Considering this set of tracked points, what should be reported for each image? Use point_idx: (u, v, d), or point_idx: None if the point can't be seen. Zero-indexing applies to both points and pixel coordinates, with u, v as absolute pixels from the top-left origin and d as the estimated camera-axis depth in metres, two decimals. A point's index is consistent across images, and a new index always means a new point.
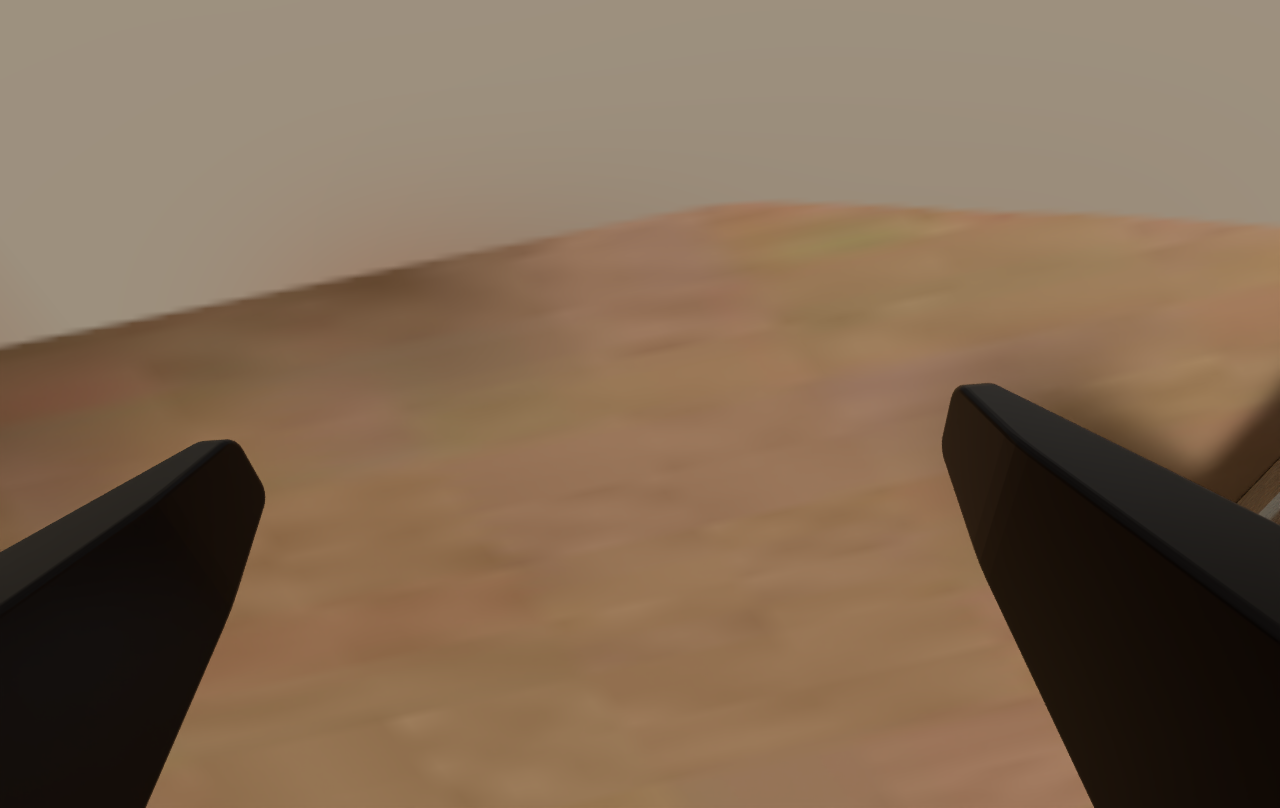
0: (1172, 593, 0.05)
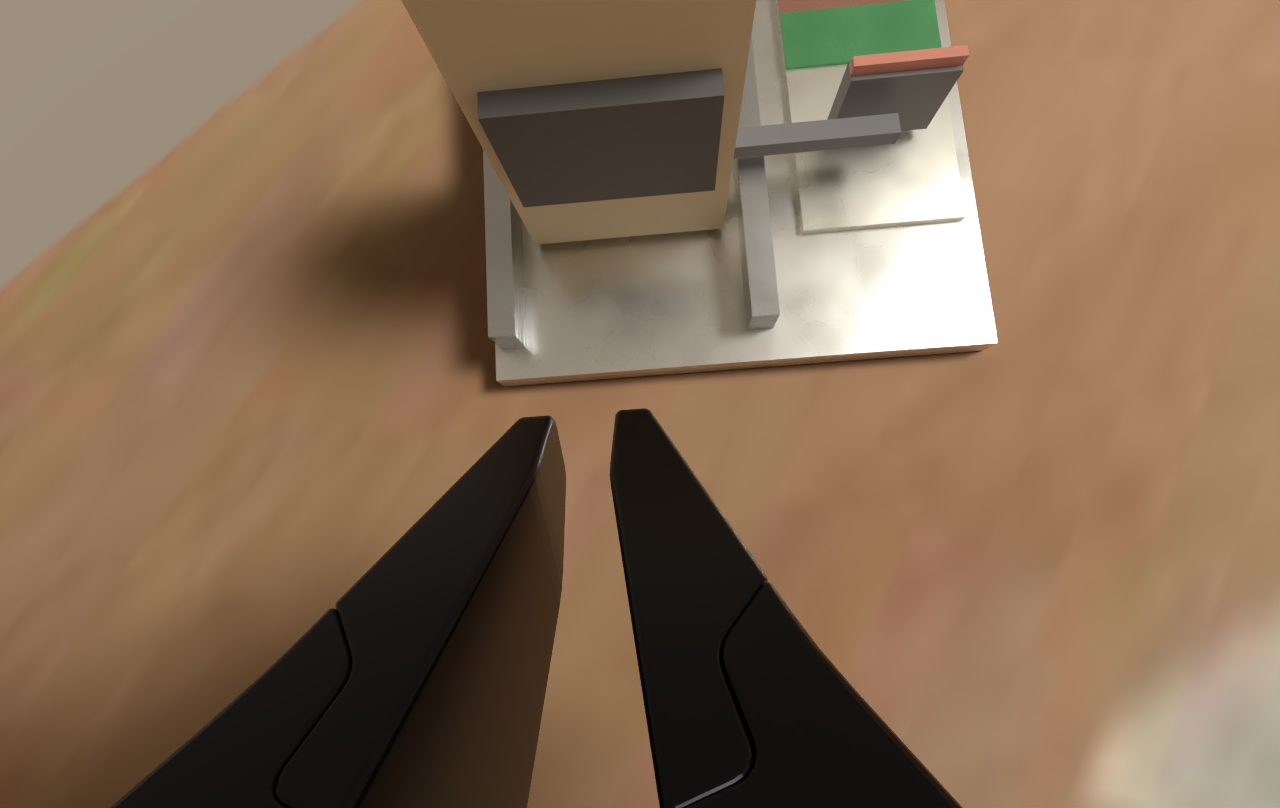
0: None
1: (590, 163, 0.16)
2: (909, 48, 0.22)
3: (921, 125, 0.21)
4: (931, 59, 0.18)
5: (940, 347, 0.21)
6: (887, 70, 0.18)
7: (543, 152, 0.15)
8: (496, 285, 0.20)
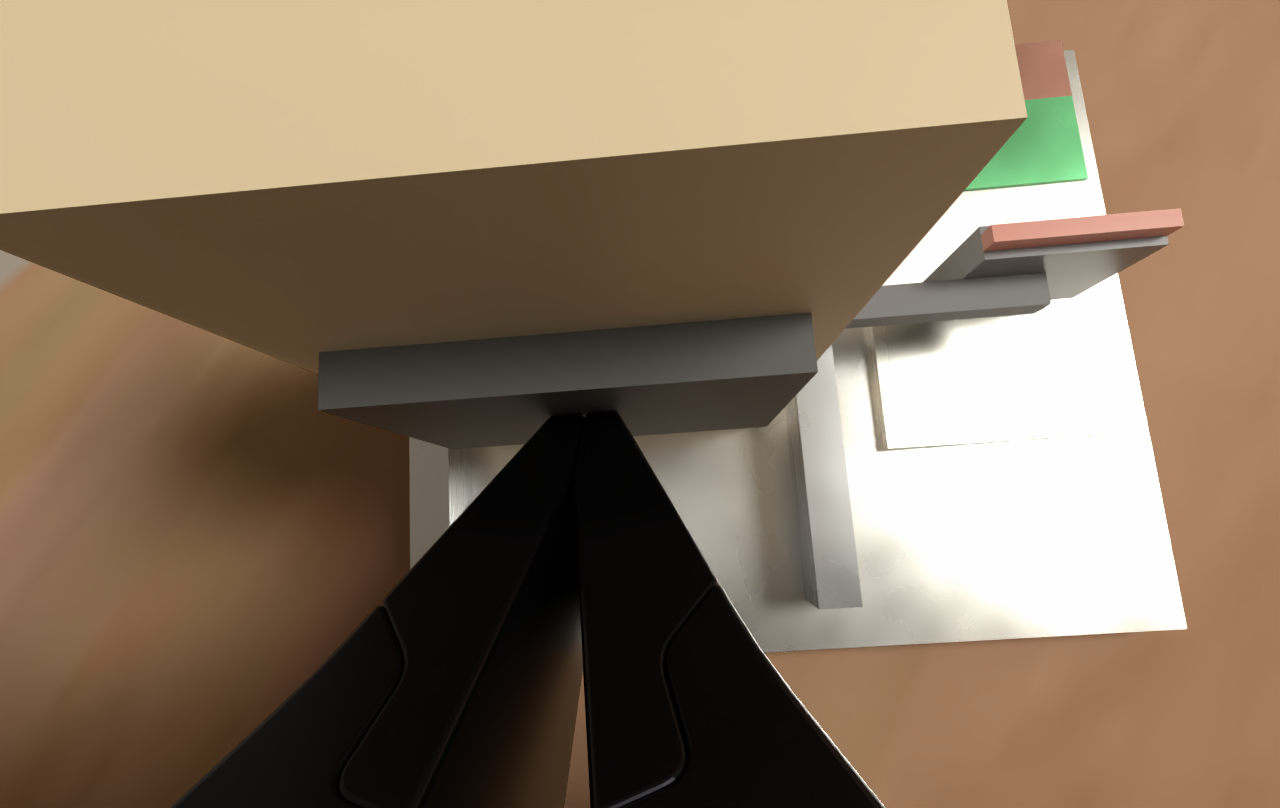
0: None
1: None
2: (1037, 171, 0.15)
3: (1067, 295, 0.14)
4: (1121, 231, 0.11)
5: (1098, 632, 0.14)
6: (1044, 244, 0.11)
7: (466, 422, 0.08)
8: (424, 548, 0.13)
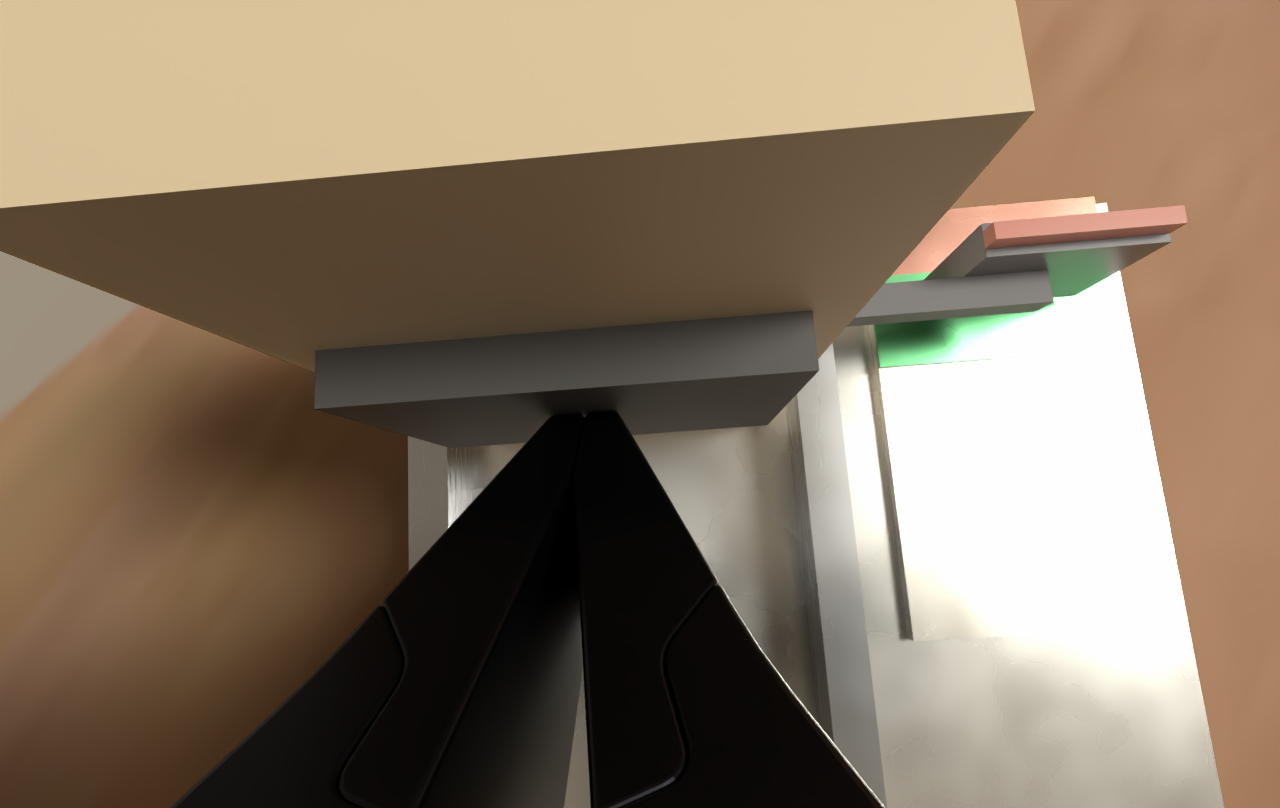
0: None
1: None
2: (1070, 338, 0.14)
3: (1069, 293, 0.14)
4: (1124, 228, 0.11)
5: None
6: (1047, 241, 0.11)
7: (464, 421, 0.08)
8: None
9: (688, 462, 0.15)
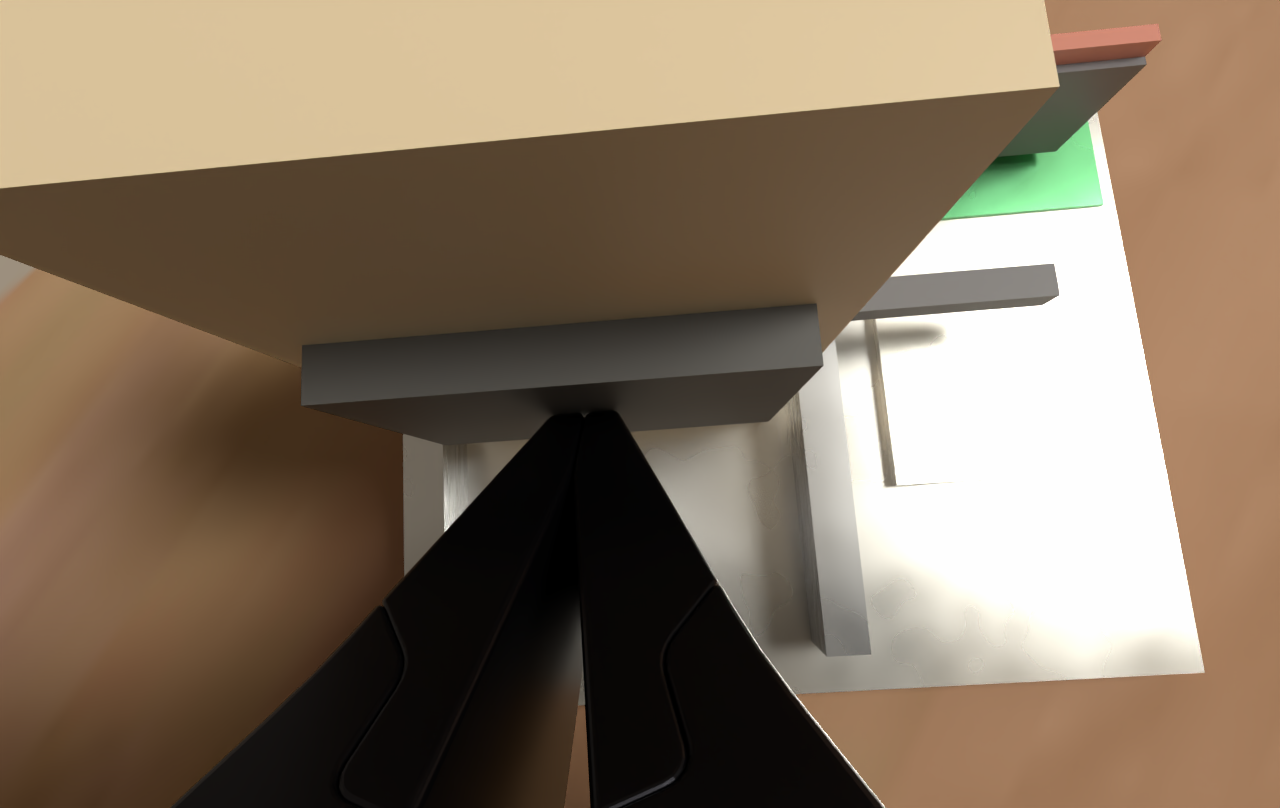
0: None
1: None
2: (1052, 196, 0.14)
3: (1050, 147, 0.14)
4: (1099, 47, 0.11)
5: (1112, 675, 0.13)
6: None
7: (457, 418, 0.08)
8: None
9: None
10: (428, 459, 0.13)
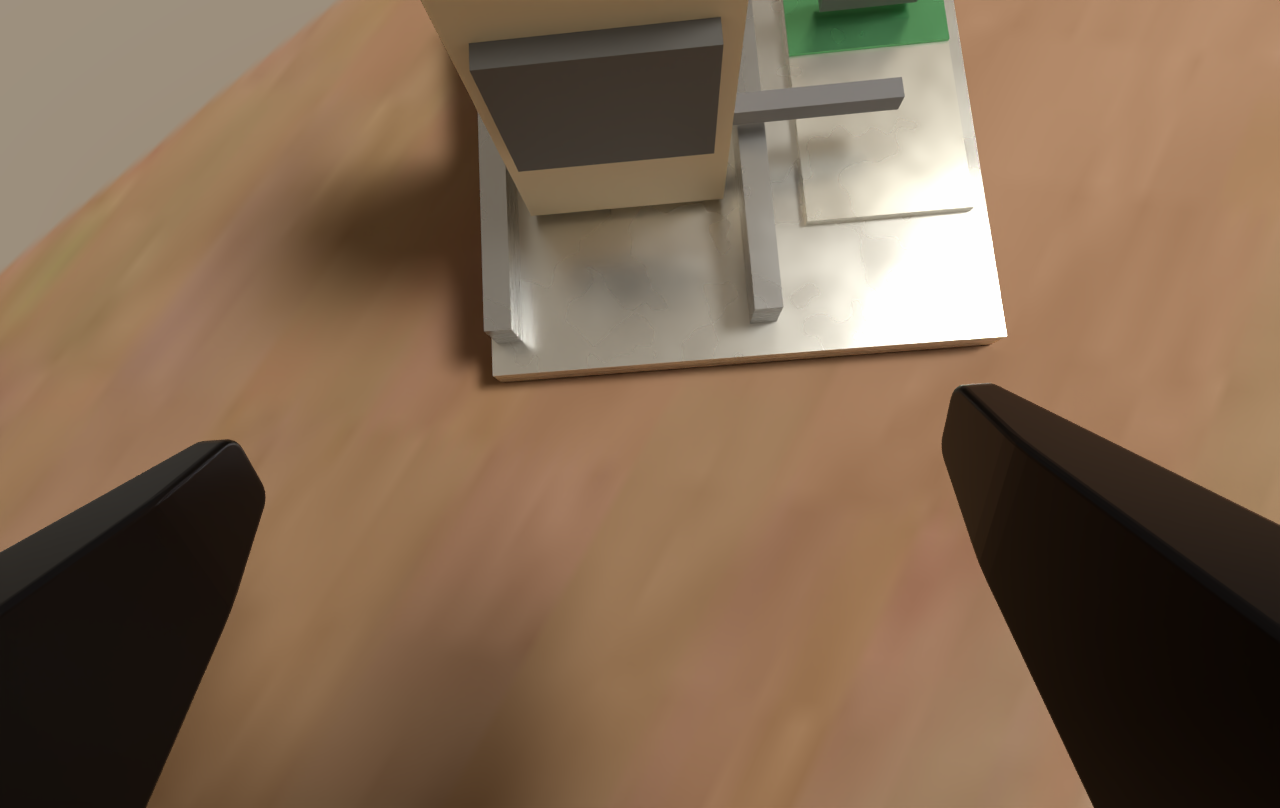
0: (1172, 593, 0.05)
1: (586, 122, 0.15)
2: (915, 34, 0.21)
3: None
4: None
5: (948, 341, 0.20)
6: None
7: (537, 109, 0.15)
8: (492, 278, 0.20)
9: None
10: (496, 197, 0.20)
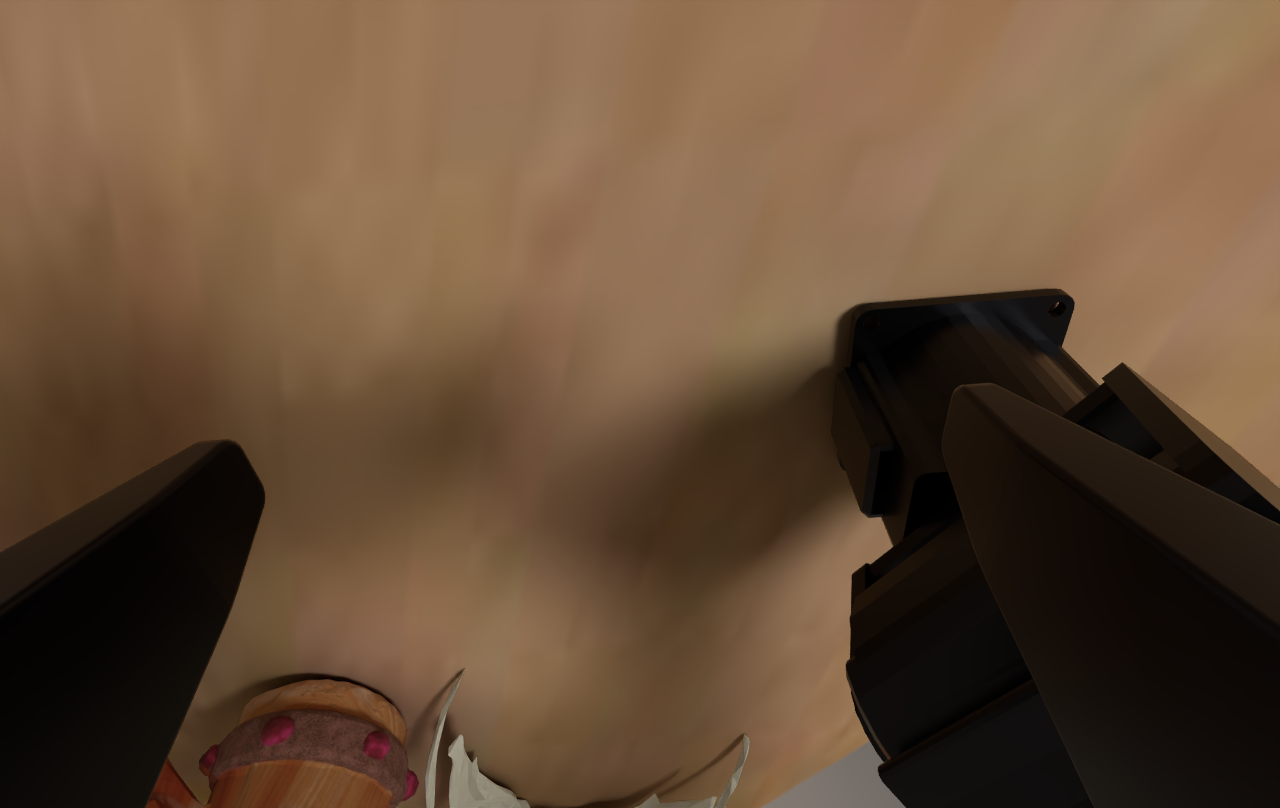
0: (1172, 593, 0.05)
1: None
2: None
3: None
4: None
5: None
6: None
7: None
8: None
9: None
10: None
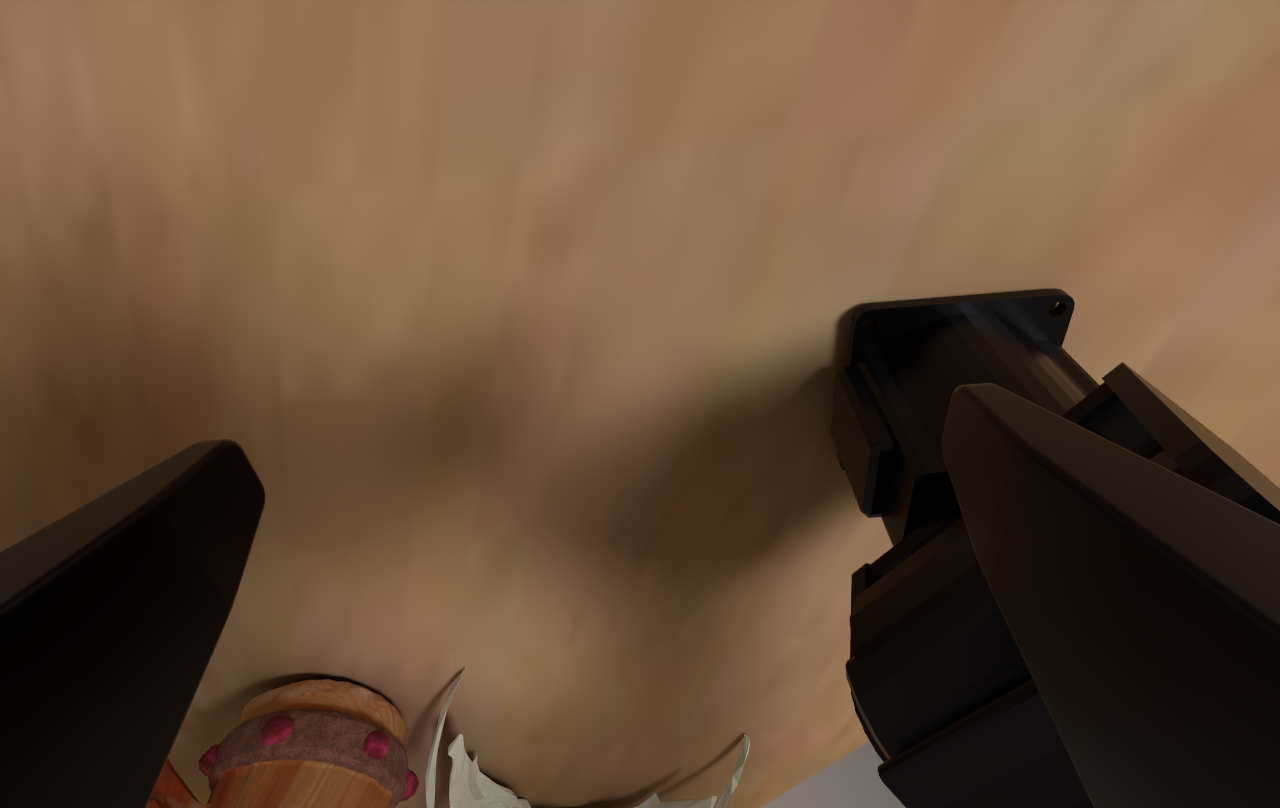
0: (1172, 593, 0.05)
1: None
2: None
3: None
4: None
5: None
6: None
7: None
8: None
9: None
10: None
